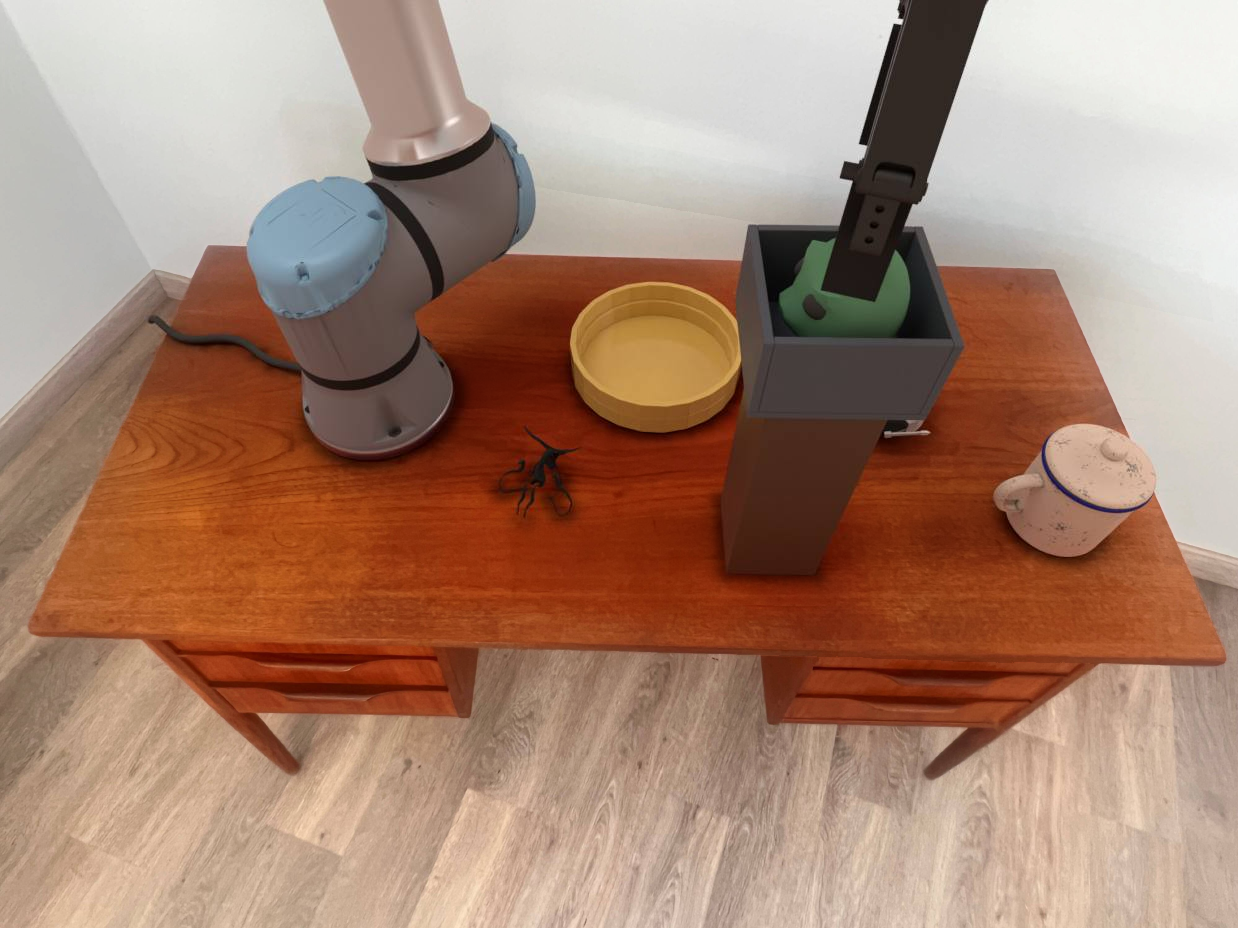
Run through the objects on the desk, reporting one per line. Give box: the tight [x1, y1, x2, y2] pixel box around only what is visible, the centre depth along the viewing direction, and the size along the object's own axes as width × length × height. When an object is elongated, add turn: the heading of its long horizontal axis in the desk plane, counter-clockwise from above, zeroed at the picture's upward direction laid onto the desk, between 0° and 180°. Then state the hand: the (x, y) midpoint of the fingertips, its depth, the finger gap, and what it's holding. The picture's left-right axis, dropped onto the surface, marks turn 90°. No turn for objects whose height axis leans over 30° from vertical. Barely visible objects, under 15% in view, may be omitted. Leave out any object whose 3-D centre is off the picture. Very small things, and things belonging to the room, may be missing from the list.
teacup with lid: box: [992, 423, 1157, 558], centre depth 66 cm, size 12×9×12 cm
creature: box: [498, 425, 582, 519], centre depth 70 cm, size 8×5×8 cm
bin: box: [720, 223, 966, 576], centre depth 57 cm, size 11×11×31 cm
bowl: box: [569, 281, 742, 434], centre depth 80 cm, size 18×18×4 cm
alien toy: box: [779, 238, 910, 338], centre depth 45 cm, size 7×8×10 cm
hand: (866, 212), depth 41 cm, fingers open, 13 cm apart
